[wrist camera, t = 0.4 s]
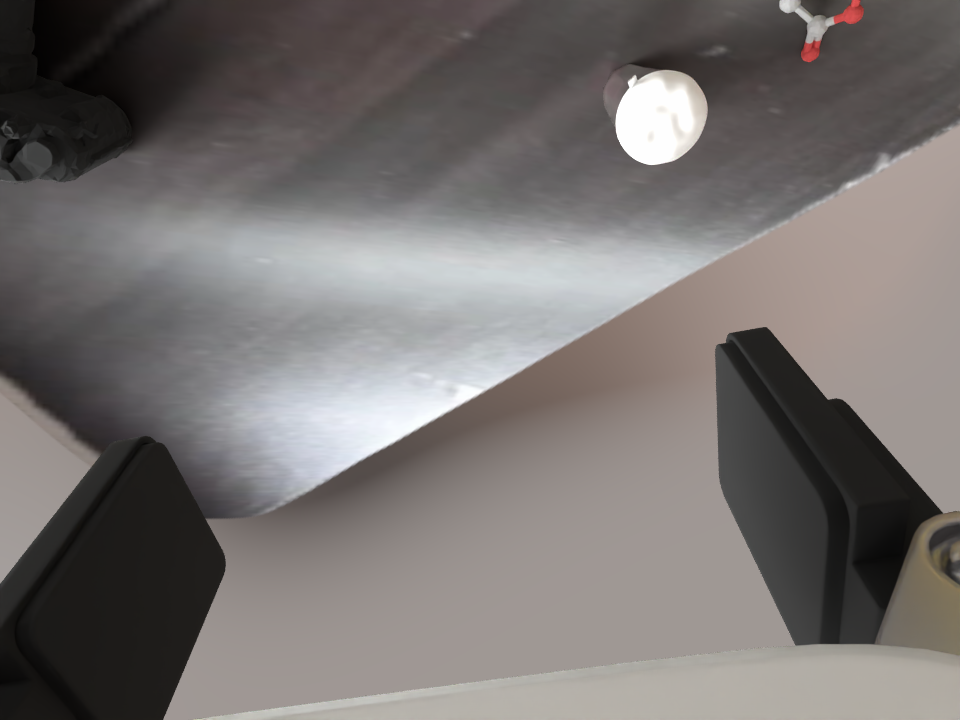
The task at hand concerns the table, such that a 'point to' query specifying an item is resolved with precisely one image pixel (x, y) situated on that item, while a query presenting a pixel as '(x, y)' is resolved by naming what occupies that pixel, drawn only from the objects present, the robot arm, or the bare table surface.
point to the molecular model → (820, 24)
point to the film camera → (48, 113)
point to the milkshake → (655, 112)
